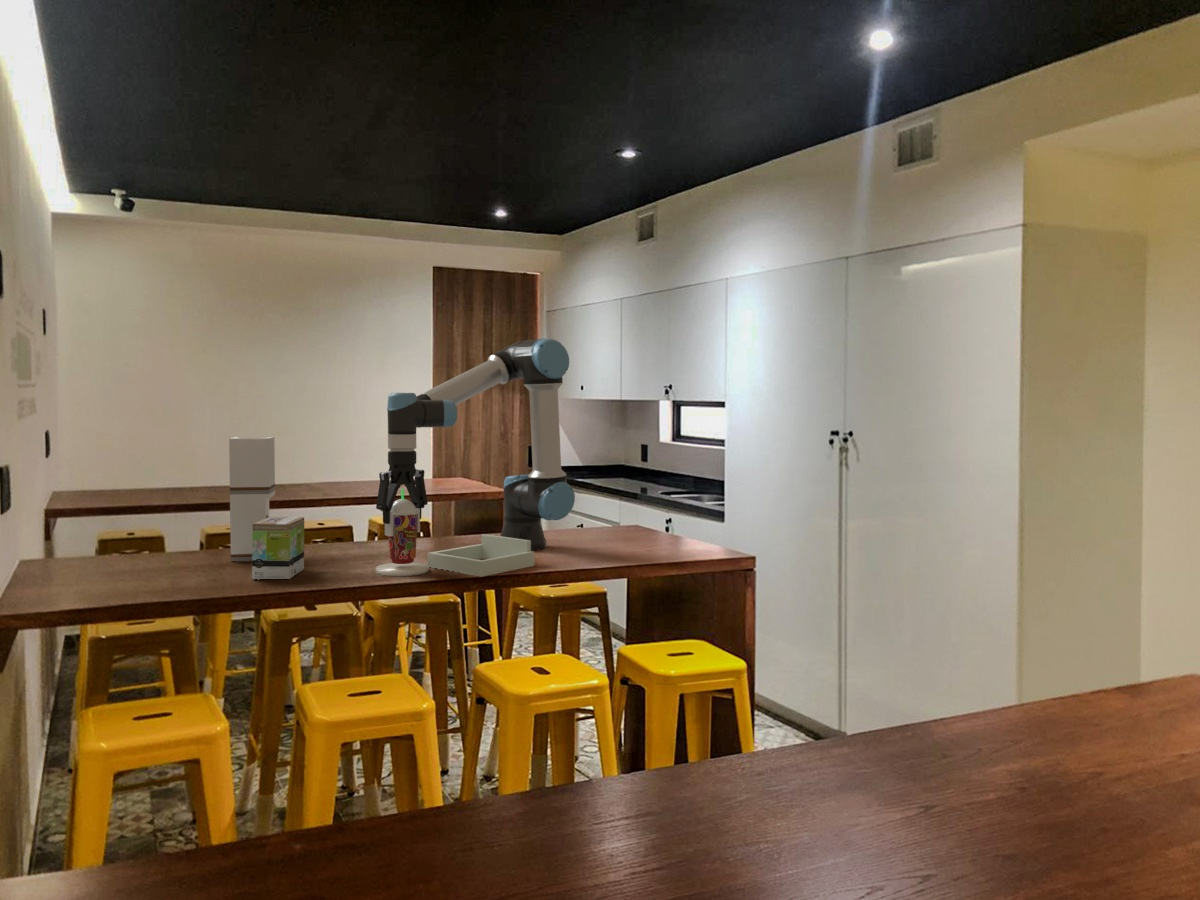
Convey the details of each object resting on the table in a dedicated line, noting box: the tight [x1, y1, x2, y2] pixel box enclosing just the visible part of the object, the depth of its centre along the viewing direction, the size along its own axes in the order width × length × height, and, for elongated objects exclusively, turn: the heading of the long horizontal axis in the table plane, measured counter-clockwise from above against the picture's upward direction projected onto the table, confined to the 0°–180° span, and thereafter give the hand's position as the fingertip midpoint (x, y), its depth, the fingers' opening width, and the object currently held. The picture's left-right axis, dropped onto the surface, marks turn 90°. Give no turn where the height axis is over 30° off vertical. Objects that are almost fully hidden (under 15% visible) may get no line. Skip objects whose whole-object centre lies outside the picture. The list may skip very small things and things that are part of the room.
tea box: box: [251, 516, 305, 581], centre depth 244 cm, size 15×10×15 cm
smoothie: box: [387, 488, 418, 564], centre depth 250 cm, size 8×8×20 cm
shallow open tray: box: [427, 533, 536, 578], centre depth 259 cm, size 21×21×7 cm
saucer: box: [375, 561, 430, 577], centre depth 251 cm, size 14×14×1 cm
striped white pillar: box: [228, 436, 276, 562], centre depth 269 cm, size 11×11×35 cm
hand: (402, 533), depth 250 cm, fingers closed on smoothie, 8 cm apart
